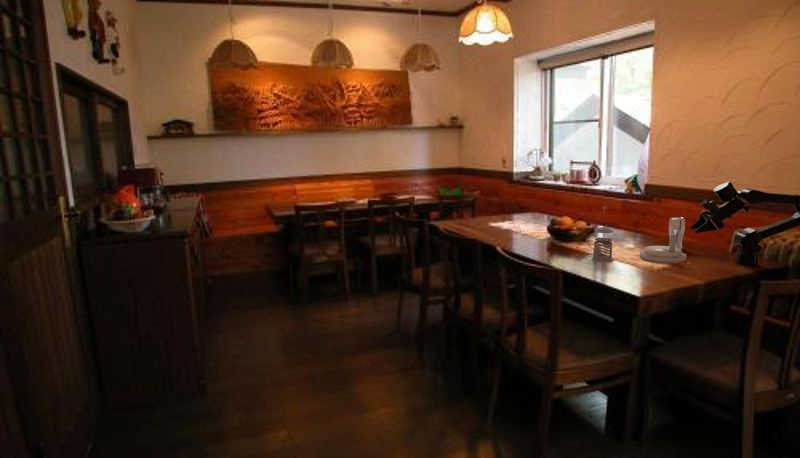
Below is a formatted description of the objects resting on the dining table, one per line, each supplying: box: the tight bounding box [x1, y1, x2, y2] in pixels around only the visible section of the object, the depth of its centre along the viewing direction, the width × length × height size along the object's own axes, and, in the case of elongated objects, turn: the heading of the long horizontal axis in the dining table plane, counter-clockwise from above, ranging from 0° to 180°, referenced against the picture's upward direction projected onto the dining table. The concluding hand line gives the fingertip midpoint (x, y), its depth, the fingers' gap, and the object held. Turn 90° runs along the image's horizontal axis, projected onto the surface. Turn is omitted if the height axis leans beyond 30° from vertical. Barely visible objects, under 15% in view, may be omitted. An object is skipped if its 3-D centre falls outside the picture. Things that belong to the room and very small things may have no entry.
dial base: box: [639, 249, 687, 264], centre depth 224 cm, size 19×19×2 cm
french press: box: [587, 206, 615, 263], centre depth 224 cm, size 10×12×25 cm
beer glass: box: [668, 216, 686, 250], centre depth 241 cm, size 7×7×15 cm
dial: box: [644, 234, 683, 257], centre depth 223 cm, size 15×15×10 cm
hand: (693, 230), depth 213 cm, fingers open, 9 cm apart
